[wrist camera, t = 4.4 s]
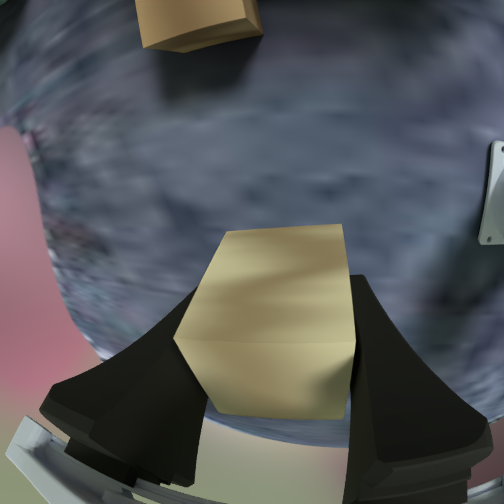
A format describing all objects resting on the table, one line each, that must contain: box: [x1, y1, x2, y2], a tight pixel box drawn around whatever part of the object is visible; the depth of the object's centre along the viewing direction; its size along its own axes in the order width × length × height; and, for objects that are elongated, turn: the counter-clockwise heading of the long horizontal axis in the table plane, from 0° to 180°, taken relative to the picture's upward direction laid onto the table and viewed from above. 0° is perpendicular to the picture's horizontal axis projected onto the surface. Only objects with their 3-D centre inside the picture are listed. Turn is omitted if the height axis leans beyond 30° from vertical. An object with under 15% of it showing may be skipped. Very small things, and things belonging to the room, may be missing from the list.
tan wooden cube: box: [135, 0, 264, 53], centre depth 10 cm, size 5×5×5 cm
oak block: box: [174, 224, 356, 420], centre depth 10 cm, size 4×4×6 cm
